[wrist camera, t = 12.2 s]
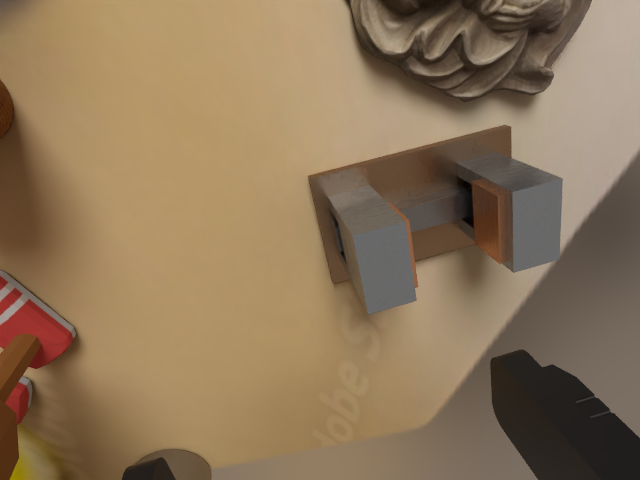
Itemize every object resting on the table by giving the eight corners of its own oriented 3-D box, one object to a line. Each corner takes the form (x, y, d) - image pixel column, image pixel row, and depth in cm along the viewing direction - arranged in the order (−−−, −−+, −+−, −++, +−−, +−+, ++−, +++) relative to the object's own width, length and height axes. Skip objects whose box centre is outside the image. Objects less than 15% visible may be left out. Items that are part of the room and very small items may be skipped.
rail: (506, 230, 45) (575, 275, 36) (331, 278, 44) (357, 338, 35) (504, 125, 40) (582, 147, 31) (308, 175, 39) (330, 214, 30)
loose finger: (387, 250, 42) (423, 298, 34) (342, 263, 42) (368, 314, 34) (376, 183, 39) (413, 219, 31) (327, 196, 39) (352, 236, 31)
